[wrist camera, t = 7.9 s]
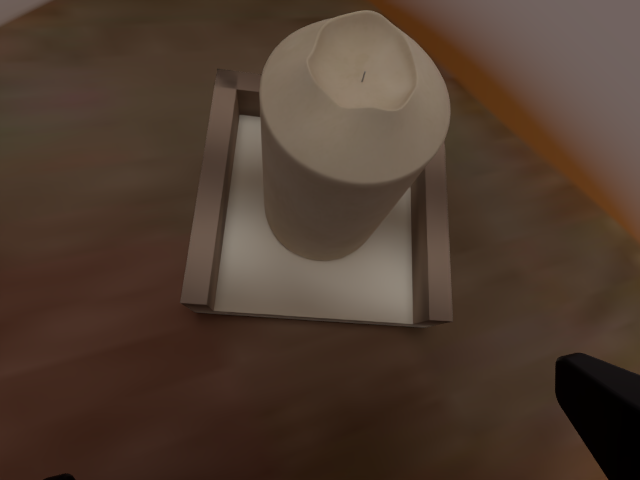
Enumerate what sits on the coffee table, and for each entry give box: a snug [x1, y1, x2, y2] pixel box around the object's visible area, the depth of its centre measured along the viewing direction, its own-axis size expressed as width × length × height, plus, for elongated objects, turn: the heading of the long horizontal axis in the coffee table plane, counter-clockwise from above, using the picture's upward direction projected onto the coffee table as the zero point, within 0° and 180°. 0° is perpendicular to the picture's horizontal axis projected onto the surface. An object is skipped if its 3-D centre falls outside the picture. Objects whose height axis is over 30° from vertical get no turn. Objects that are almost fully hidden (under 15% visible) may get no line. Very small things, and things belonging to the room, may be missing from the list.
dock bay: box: [180, 69, 453, 328], centre depth 19 cm, size 11×11×3 cm
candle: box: [259, 10, 451, 260], centre depth 14 cm, size 6×6×10 cm
